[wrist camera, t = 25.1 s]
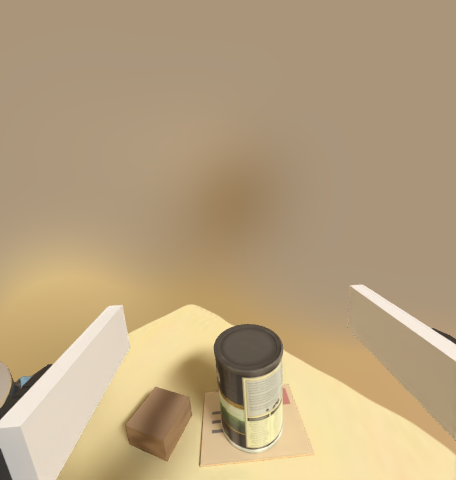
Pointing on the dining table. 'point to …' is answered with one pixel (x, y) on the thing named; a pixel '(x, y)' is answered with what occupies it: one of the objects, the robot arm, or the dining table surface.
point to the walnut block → (159, 422)
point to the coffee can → (250, 386)
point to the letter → (224, 452)
